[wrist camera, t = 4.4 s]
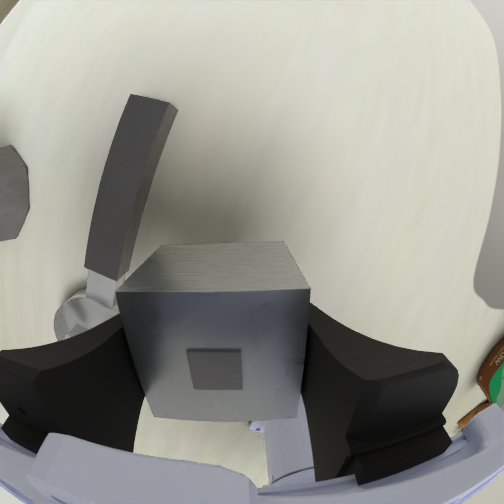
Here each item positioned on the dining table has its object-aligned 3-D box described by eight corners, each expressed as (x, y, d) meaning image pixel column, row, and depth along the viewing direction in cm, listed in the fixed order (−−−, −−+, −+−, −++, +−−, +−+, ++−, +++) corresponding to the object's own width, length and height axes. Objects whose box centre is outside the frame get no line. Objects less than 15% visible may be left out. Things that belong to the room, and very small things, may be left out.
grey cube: (283, 241, 12) (311, 289, 7) (281, 344, 13) (297, 419, 8) (161, 245, 12) (113, 293, 7) (177, 345, 13) (153, 418, 8)
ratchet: (213, 120, 16) (202, 102, 11) (139, 376, 22) (123, 413, 17) (113, 95, 15) (77, 77, 10) (68, 343, 21) (43, 373, 16)
